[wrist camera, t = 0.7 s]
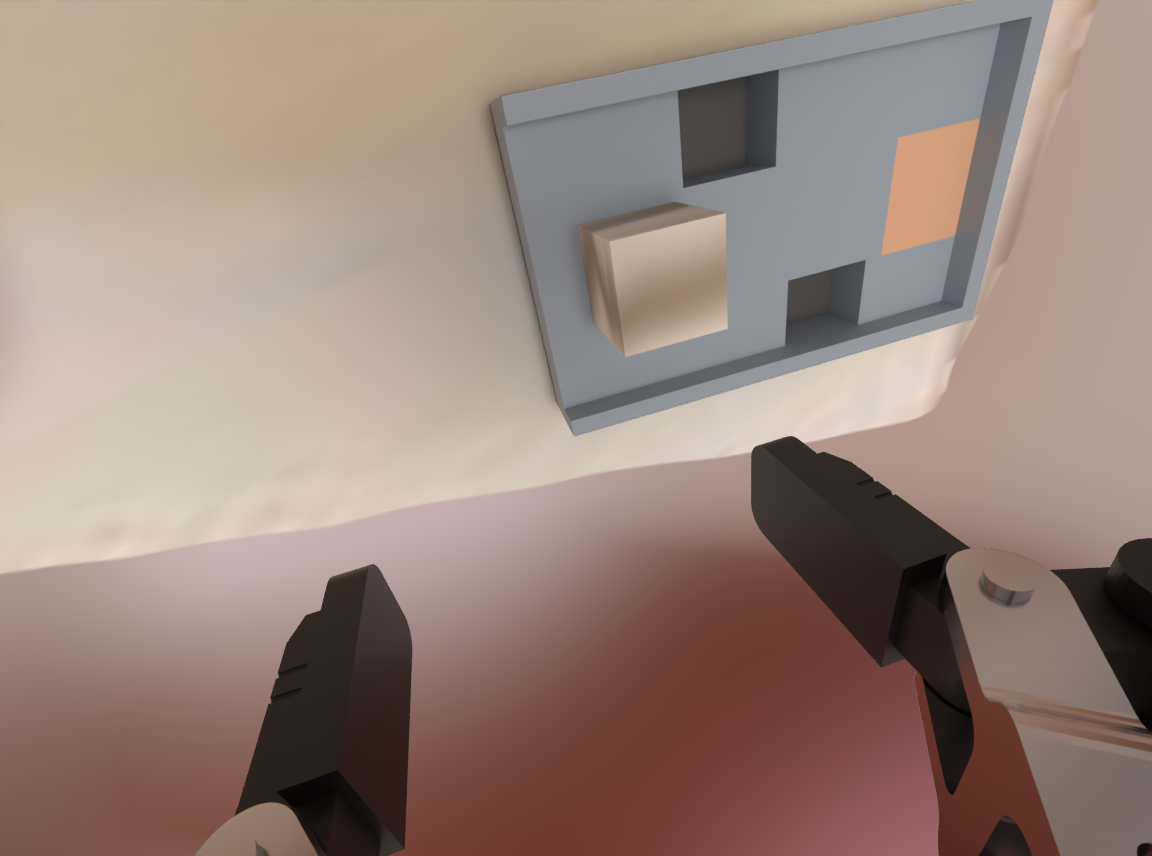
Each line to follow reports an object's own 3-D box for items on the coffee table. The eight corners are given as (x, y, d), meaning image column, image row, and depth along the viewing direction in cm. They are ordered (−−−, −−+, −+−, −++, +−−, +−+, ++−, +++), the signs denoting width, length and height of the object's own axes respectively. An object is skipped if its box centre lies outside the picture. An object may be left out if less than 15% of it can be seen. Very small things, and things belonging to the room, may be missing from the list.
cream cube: (577, 224, 24) (609, 241, 20) (674, 201, 24) (726, 213, 20) (593, 323, 26) (625, 357, 22) (681, 300, 27) (727, 328, 23)
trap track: (488, 104, 23) (501, 96, 19) (966, 7, 26) (1057, -16, 23) (556, 401, 31) (574, 436, 28) (913, 300, 35) (972, 319, 31)
